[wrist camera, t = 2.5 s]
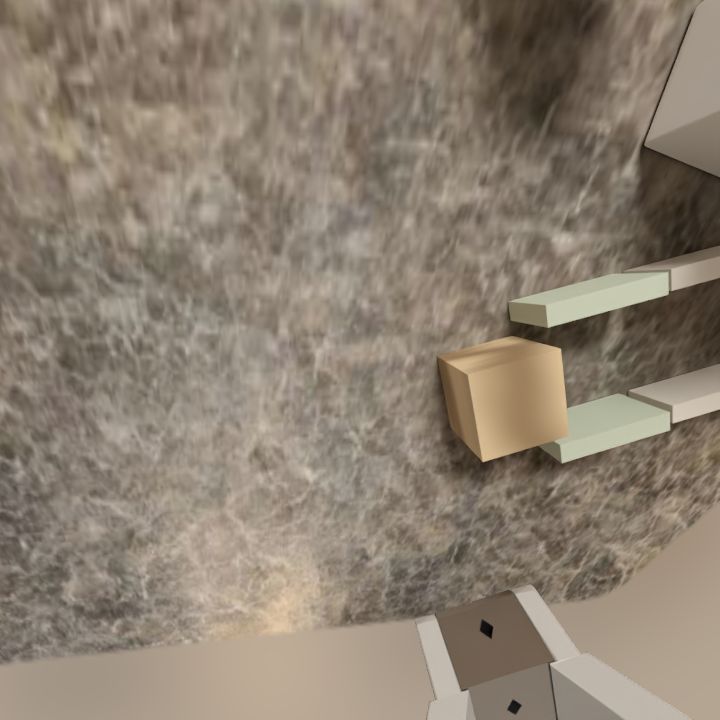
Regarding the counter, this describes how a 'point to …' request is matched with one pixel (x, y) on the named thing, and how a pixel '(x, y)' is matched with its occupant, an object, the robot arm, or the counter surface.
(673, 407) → the end bay
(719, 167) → the milk carton
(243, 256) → the counter surface
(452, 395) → the maple block
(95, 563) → the counter surface
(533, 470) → the counter surface
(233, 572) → the counter surface
